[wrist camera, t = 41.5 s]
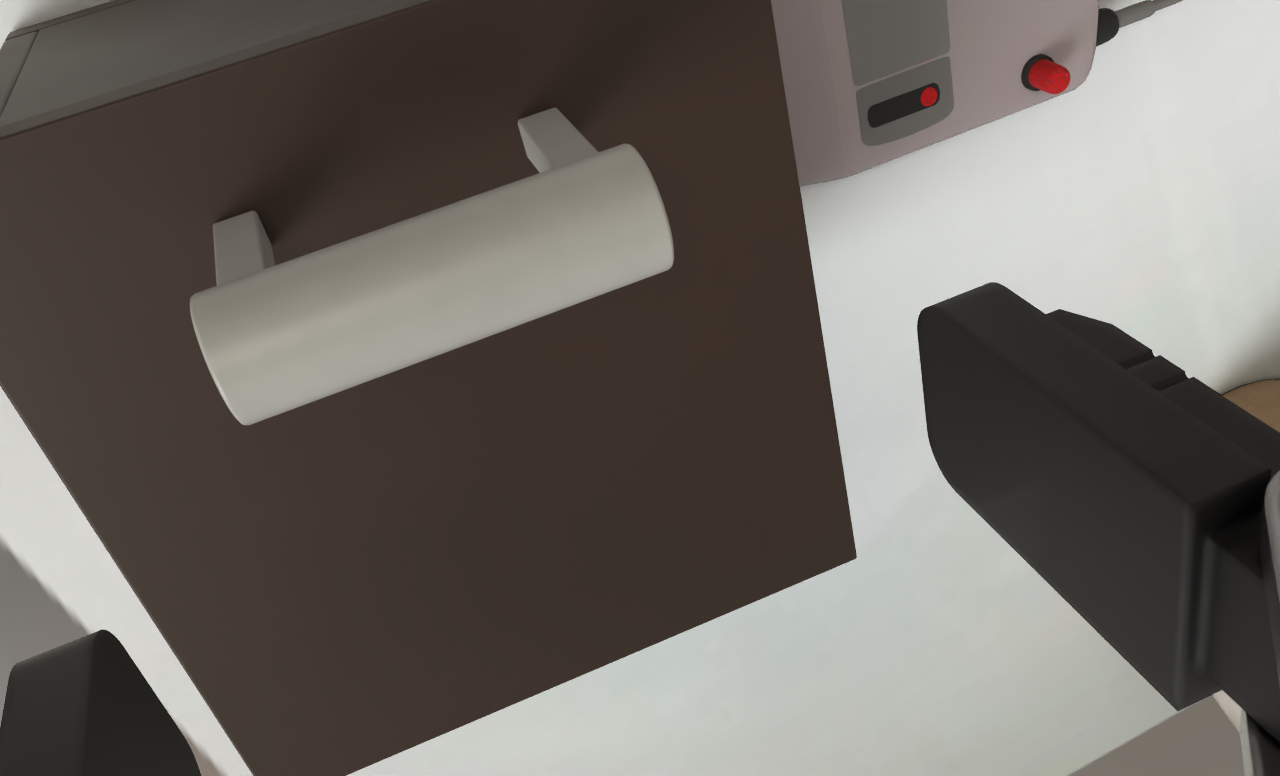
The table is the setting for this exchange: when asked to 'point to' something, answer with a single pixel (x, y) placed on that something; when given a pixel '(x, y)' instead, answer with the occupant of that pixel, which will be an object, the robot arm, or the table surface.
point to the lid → (429, 355)
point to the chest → (141, 44)
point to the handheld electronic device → (925, 70)
